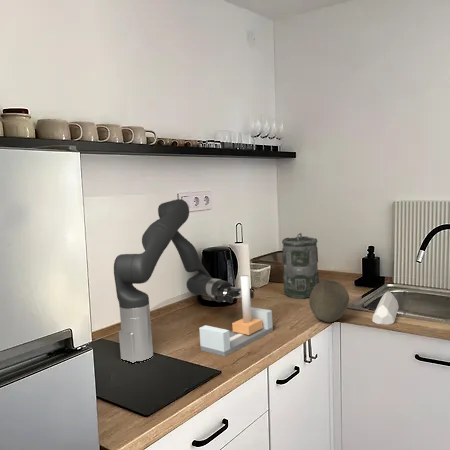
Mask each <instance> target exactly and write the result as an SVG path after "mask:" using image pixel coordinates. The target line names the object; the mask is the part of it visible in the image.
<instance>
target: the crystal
mask: <svg viewBox="0 0 450 450" xmlns="http://www.w3.org/2000/svg"><path fill="white" fill-rule="evenodd" d="M398 310H399V303H398V300H397V298H396V297H395V296H394V294H393V293H392V292H390V291H389V290H387V291H386V292H385V293H384V294H382V296H381V299H380V300H379V302H378V304H377V306H376V309H375V311H374V312H373V315H372V319H371V320H372V322H373V323H375V324H378V325H392V324H394V323H395V321H396V317H397V314H398Z"/></svg>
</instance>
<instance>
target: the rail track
mask: <svg viewBox="0 0 450 450" xmlns="http://www.w3.org/2000/svg"><path fill="white" fill-rule="evenodd" d="M251 318H255V319H260V320H262V326H263V328H262V329H260V330H258V331H256V332H254V333H252V334H250V335H247V334H242V333H237V332H233V330H232V331H230V330H229V329H225V328H220V327H216V326H210V325H205V324H204V325H203V326H201V327H199V343H200V351H202V352H206V353H209V354H213V355H218V356H222V357H224V358H225V357H227V356H228V355H231V354H233V353H234V352H236V351H238V350H240V349H242V348H244V347H246V346H247V345H249V344H251V343H253V342H255V341H257V340H258V339H261V338H262V337H265V336H267V335H268V334H270V333H272V332H273V331H274V328H273V311H272V310H270V309H265V308H258V307H253V306H251Z"/></svg>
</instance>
